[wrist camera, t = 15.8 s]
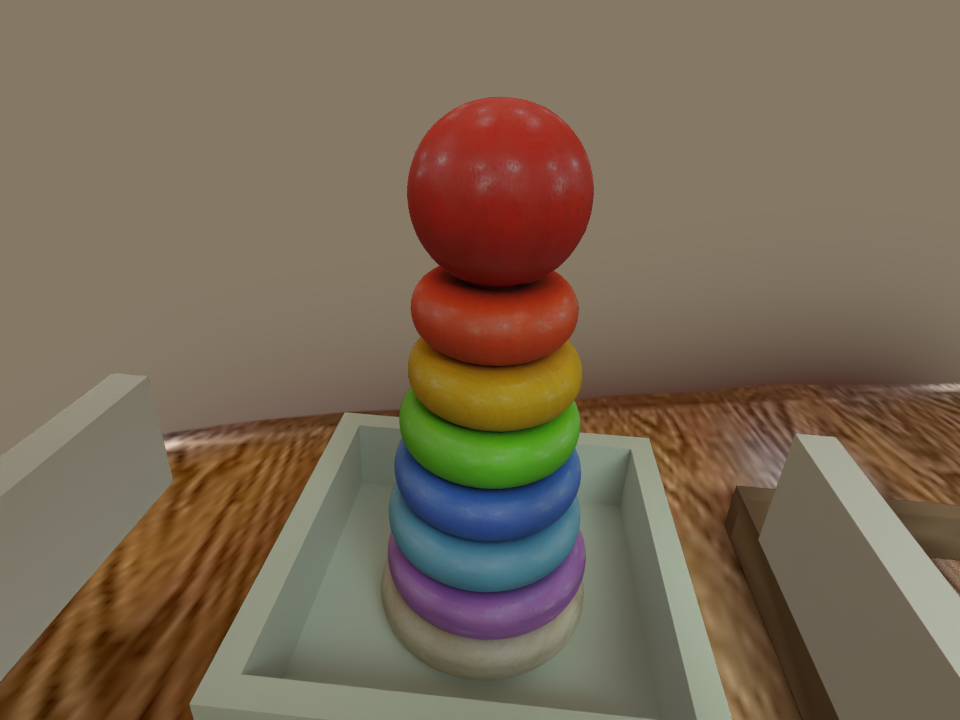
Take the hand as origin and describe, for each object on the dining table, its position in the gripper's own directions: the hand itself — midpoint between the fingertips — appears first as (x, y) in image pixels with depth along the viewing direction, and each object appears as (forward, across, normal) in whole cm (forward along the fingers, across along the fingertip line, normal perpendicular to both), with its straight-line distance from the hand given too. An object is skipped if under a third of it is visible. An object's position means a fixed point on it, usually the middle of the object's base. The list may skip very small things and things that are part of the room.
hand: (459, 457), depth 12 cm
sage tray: (+7, 0, -13) cm, 15 cm away
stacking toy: (+7, 0, -12) cm, 14 cm away
